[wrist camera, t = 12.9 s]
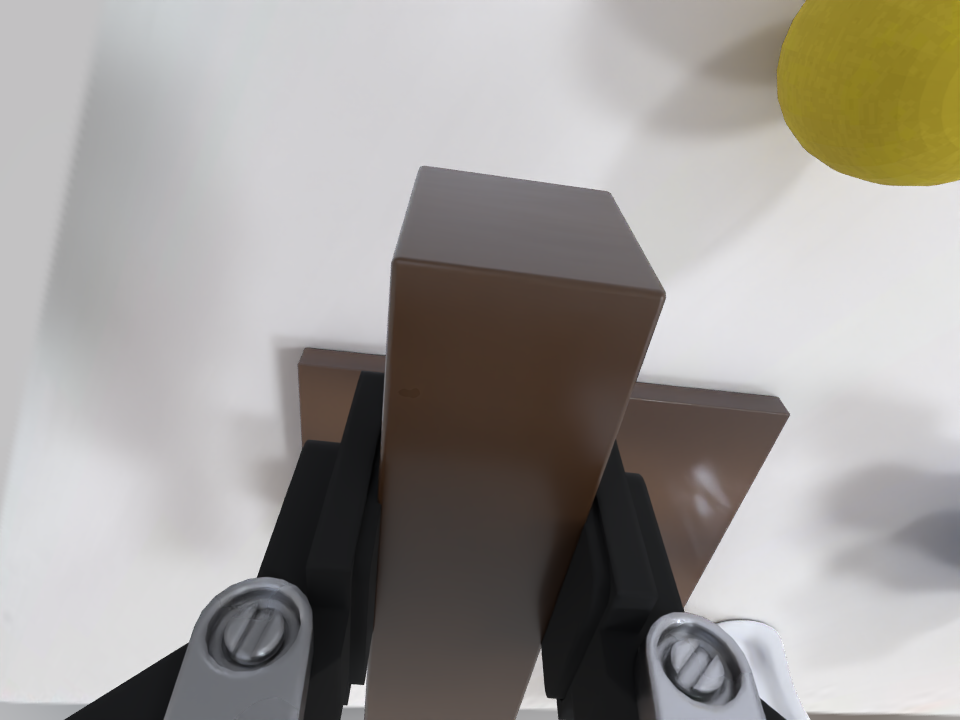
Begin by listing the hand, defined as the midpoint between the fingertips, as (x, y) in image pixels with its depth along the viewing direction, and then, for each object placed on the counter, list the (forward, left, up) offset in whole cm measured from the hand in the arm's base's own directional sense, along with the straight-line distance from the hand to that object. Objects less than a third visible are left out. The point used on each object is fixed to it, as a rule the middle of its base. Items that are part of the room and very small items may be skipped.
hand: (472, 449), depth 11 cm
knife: (+6, 0, 0) cm, 6 cm away
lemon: (-7, +10, -12) cm, 17 cm away
